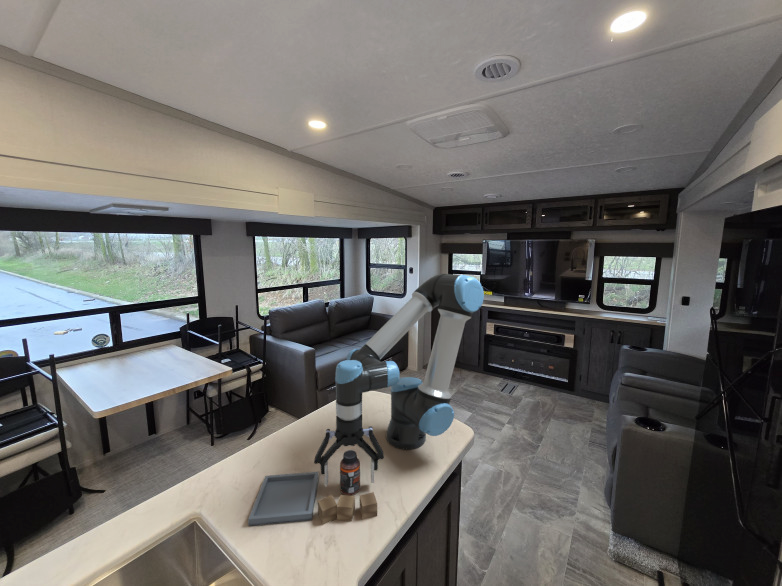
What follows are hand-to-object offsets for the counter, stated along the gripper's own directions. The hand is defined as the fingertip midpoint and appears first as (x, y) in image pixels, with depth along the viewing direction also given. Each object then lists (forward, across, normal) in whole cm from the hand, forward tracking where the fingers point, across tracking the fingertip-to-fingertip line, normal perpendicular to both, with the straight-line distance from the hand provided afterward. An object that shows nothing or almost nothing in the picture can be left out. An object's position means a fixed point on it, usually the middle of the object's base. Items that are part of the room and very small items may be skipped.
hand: (349, 481), depth 93 cm
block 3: (+3, -5, +9) cm, 11 cm away
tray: (+3, +18, +2) cm, 18 cm away
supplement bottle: (+3, 0, 0) cm, 3 cm away
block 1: (+3, +6, +9) cm, 11 cm away
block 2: (+3, +1, +9) cm, 9 cm away
